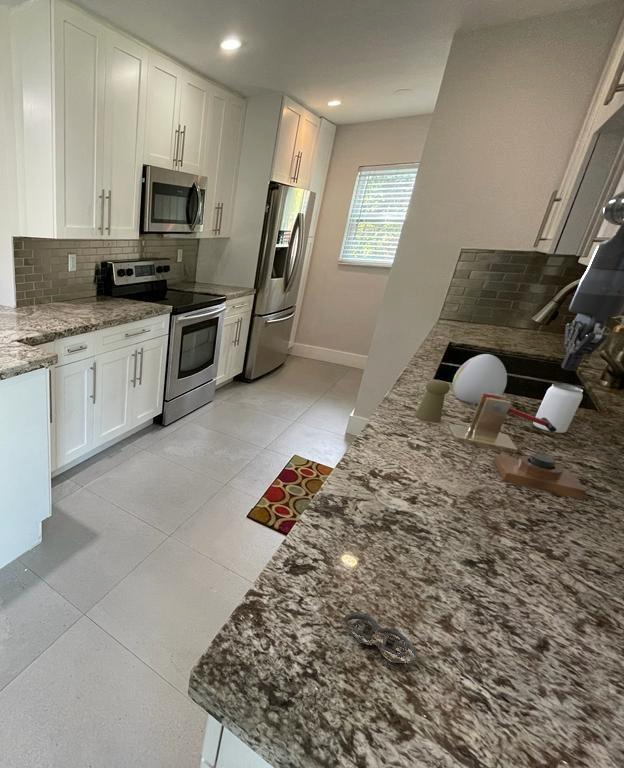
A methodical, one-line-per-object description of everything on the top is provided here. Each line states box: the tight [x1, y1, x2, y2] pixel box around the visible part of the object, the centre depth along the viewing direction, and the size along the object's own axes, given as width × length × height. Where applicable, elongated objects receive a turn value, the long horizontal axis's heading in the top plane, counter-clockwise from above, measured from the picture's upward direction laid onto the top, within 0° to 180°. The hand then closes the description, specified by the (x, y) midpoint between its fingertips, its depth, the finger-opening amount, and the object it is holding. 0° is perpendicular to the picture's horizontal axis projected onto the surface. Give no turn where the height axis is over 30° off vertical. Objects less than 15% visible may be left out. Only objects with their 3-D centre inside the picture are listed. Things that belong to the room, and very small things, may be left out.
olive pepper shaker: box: [414, 379, 451, 423], centre depth 114 cm, size 6×6×11 cm
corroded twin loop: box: [344, 612, 419, 664], centre depth 52 cm, size 5×8×1 cm, turn 48°
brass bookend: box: [447, 392, 519, 454], centre depth 102 cm, size 12×9×12 cm
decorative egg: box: [452, 353, 508, 406], centre depth 126 cm, size 12×12×15 cm
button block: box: [492, 453, 587, 501], centre depth 87 cm, size 12×9×4 cm
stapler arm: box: [484, 396, 556, 433], centre depth 99 cm, size 13×6×2 cm, turn 60°
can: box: [532, 383, 584, 434], centre depth 109 cm, size 6×6×12 cm
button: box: [529, 453, 557, 469], centre depth 86 cm, size 4×4×2 cm
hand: (568, 369), depth 92 cm, fingers closed
